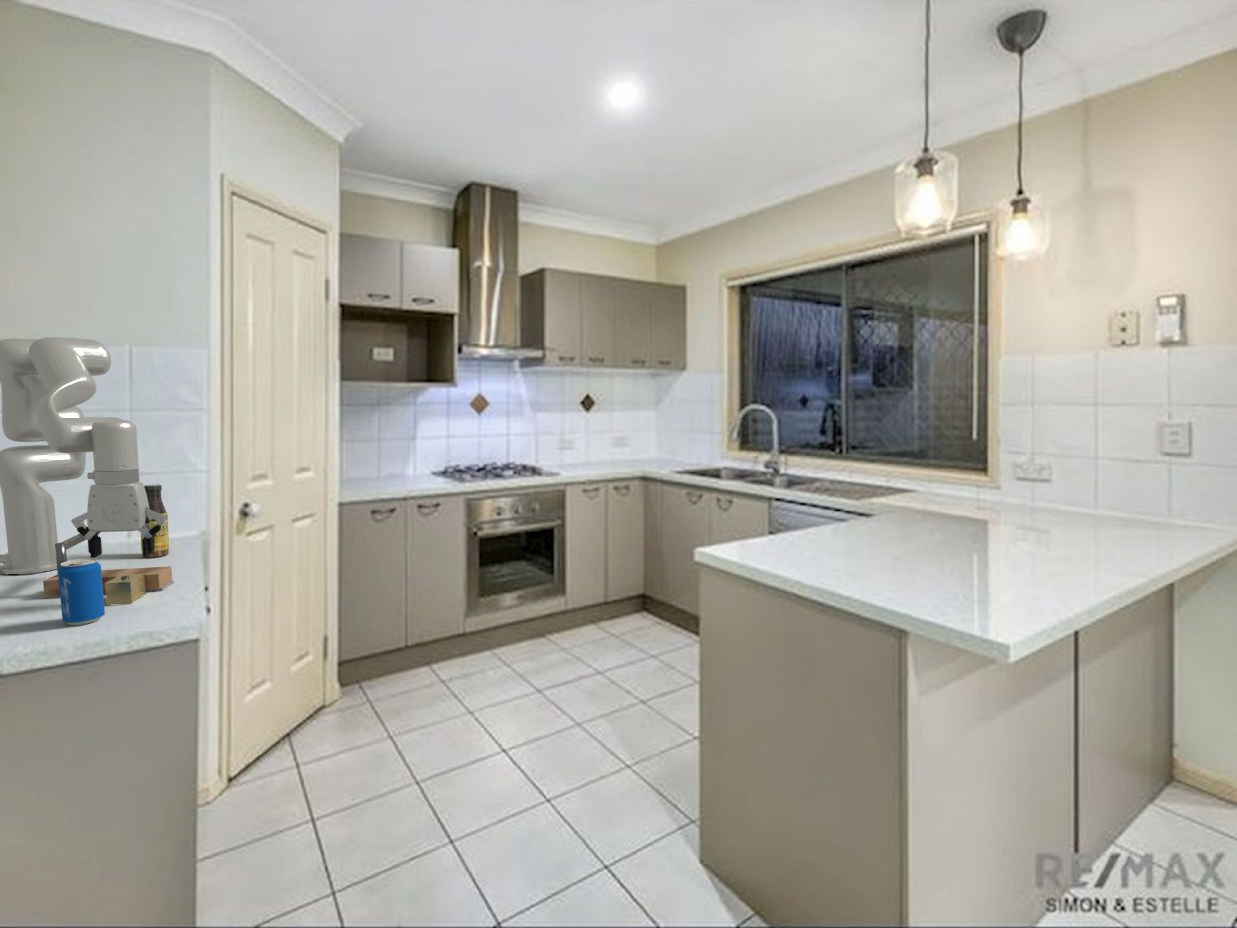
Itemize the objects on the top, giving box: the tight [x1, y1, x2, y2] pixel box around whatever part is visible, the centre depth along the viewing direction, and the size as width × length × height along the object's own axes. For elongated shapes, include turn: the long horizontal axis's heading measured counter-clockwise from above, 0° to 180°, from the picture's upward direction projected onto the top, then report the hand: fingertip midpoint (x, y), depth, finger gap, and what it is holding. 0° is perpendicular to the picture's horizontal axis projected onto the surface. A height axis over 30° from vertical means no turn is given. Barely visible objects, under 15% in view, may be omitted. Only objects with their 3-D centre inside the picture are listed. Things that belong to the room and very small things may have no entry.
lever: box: [55, 533, 86, 574], centre depth 150 cm, size 16×2×8 cm, turn 21°
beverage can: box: [57, 557, 106, 626], centre depth 126 cm, size 6×6×12 cm
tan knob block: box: [105, 574, 147, 606], centre depth 140 cm, size 5×6×5 cm
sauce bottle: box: [140, 483, 170, 559], centre depth 177 cm, size 7×6×20 cm
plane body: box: [42, 565, 175, 599], centre depth 147 cm, size 23×7×4 cm, turn 105°
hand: (122, 555), depth 139 cm, fingers open, 9 cm apart
